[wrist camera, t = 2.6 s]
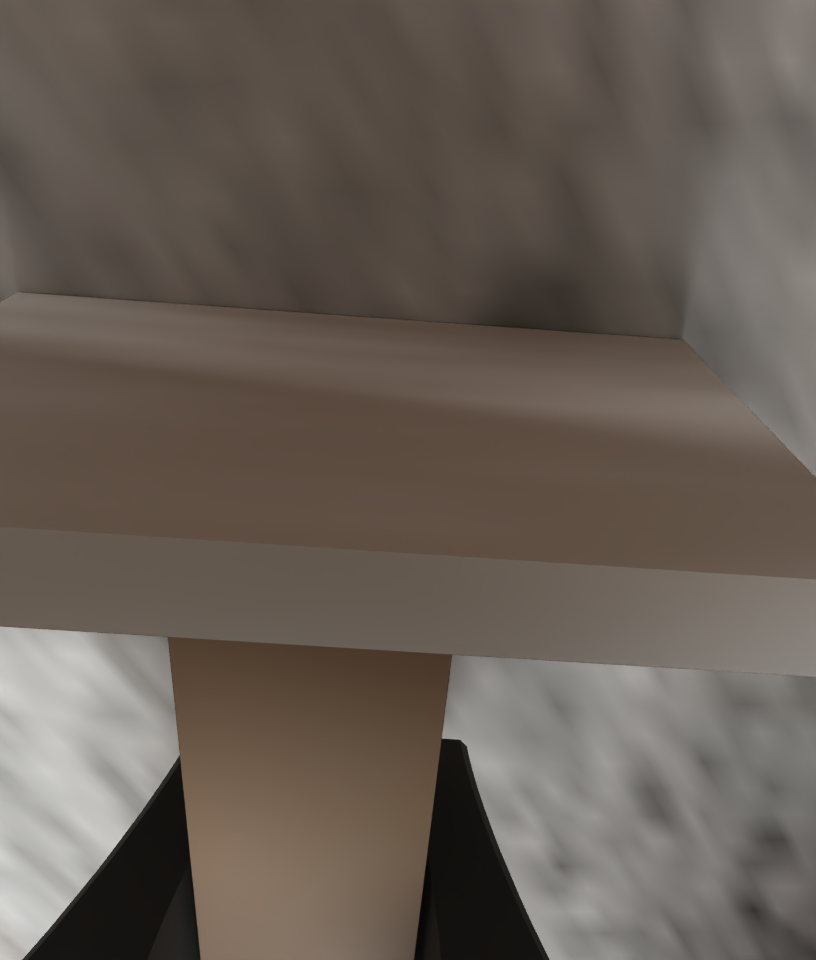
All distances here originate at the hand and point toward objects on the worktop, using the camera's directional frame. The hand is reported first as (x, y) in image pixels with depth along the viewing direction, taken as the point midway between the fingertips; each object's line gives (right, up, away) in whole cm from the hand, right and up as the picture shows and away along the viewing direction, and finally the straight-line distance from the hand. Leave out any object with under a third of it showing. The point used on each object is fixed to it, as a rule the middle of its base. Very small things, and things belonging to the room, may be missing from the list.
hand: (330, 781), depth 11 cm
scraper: (0, +1, +1) cm, 1 cm away
